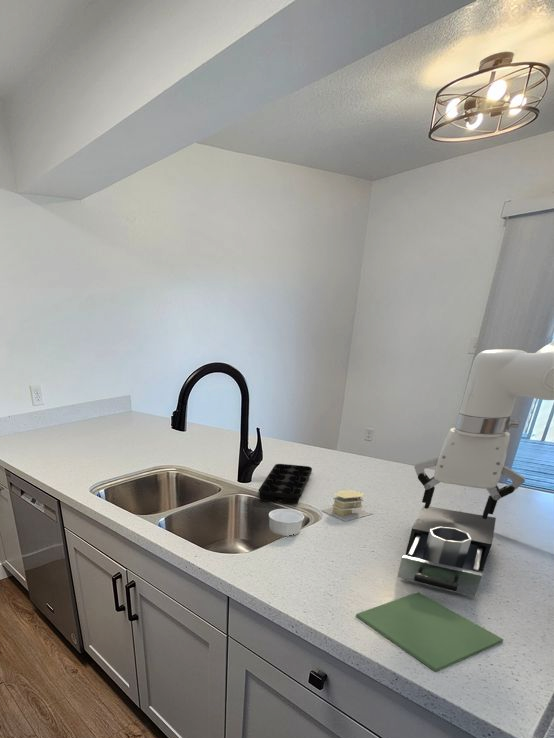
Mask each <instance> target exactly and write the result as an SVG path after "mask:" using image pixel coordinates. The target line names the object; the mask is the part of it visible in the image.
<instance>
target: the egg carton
mask: <svg viewBox="0 0 554 738" xmlns="http://www.w3.org/2000/svg"><path fill="white" fill-rule="evenodd" d="M312 472H313V468H312V467H311V466H307V465H298V464H286V463H276V464H274V466H273V467H272V469H271V470H270V472H269V473H268V475H267V476H266V478H265V479H264V481H263V482H262V484H261V485H260V487H259V488H258V495H259V496H258V499H259V500H260V501H263V502H266V503H267V502H270V503H275V502H277V501H278V502H280V503H282V504H285V505H287V504H288V505H294V504H298V503H299V502H300V498H301V497H302V495H303V492H304V491H305V487H306V485H307V483H308V480H309V478H310V477H311V474H312Z"/></svg>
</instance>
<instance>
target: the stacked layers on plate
mask: <svg viewBox="0 0 554 738" xmlns="http://www.w3.org/2000/svg"><path fill="white" fill-rule="evenodd" d="M334 496H335V497H333V498H332V500H334V502H333V504H331V506H332V507H329V508H325V509H321V512H323V513H325V514H327V515H330V516H332V517H334V518H336V519H339V520H341V521H343V522H348V521H352V520H356V519H359V518H362V517H366V516H371V515H372V514H373V513H372V512H369V511H366V510H364V509H362V508H363V504H362V502H363V501H364V498H363V497H365V494H364V493H363V492H361V491H360V492H359V491H355V490H352V489H342V490H340V491H338V492H335V493H334Z"/></svg>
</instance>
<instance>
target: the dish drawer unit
mask: <svg viewBox="0 0 554 738" xmlns="http://www.w3.org/2000/svg"><path fill="white" fill-rule="evenodd" d="M424 507H425V505H422V508H421V510H420V512H419V513H418V515H417V517H416V520H415V522H414V523H413V525H412V527H411V531H410V534H409V538H408V542H407V546H406V551H405V555H406V556H408V553H409V551H410V549H411V547H412V545H413V543H414V540H415V538H416V536H417V534H418V533H419V534H425V535H429V531H430V529H433V528H436V527H448V528H456V529H459V530H461V531H464V532H466V533H468V534H469V535H470V537H471V543H470V544H475V545H480V546H483V549H482V554H481V559H480V565H479V570H478V572H481V573H483V572H484V569H485V566H486V563H487V560H488V559H489V554H490V551H491V548H492V546H493V542H494V541H493V540H494V534H495V526H496V520H497V517H494V516H489V515H488V516H487V519H483V518H482V516H483V514H476V513H470V512H465V511H458V510H452V509H447V508H441V507H434V506H429V508H427V509H426V508H424Z"/></svg>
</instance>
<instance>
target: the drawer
mask: <svg viewBox="0 0 554 738" xmlns="http://www.w3.org/2000/svg"><path fill="white" fill-rule="evenodd" d="M427 539H428V535H425V534H419V533H418V534H417V536H416V538H415V540H414V543H413V545H412V547H411V549H410V551H409V553H408V555H406V554H405V555H404V554H403V555H402V557H401V560H400V565H399V569H398V573H397V576H396V578H399V579H401V580H402V579H403V580H406V581H407V580H408V581H410V582H414V583H418V584H422V585H427V586H431V587H433V588H438V589H441V590H446V591H449V592H453V593H458V594H461V595H465V596H470V597H473V598H476V596H477V593H478V590H479V587H480V585H481V581H482V579H483V574H484V573H483V572H481V571H478V570H479V565H480V559H481V554H482V549H483V546H480V545H475V544H470V546H469V549H468V552H467V555H466V558H465V562H464V565H463V568H458V567H454V566H449V565H445V564H440V563H436V562H432V561H427V560H423V559H422V558H423V554H424V550H425V547H426V543H427Z"/></svg>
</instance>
